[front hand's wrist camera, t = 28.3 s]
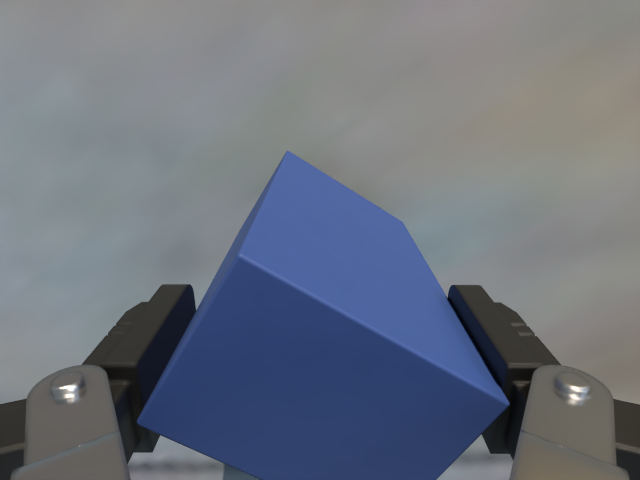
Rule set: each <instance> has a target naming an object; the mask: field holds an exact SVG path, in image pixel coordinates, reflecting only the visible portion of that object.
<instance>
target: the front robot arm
mask: <svg viewBox="0 0 640 480" xmlns="http://www.w3.org/2000/svg"><path fill="white" fill-rule="evenodd" d="M448 300H449V302H450V303H451V305H452V307H453V308H454V310H455V312H456V313H457V315H458V317H459V318H460V320H461V322H462V324H463V325H464V327H465V329H466V330H467V332H468V334H469V335H470V337H471V339H472V340H473V342H474V344H475V346H476V347H477V349H478V351H479V352H480V354H481V356H482V357H483V359H484V361H485V362H486V364H487V366H488V368H489V369H490V371H491V373H492V374H493V376H494V378H495V379H496V381H497V383H498V384H499V386H500V388H501V389H502V391H503V393H504V394H505V396H506V398H507V400H508V401H509V404H510V405H509V407H508V408H507V409H506V410H505V411H504V412H503V413H502V414H501V415H500V416H499V417H498V418H497V419H496V420H495V421H494V422H493V423H492V424H491V425H490V426H489V427H488V428H487V429H486V430H485V431H484V432H483V433H482V436H483V438H484V440H485V442H486V445H487V447H488V449H489V451H490V453H491V454H510V455H511V457H512V459H513V466H512V470H511V475H510V479H509V480H640V405H638V404H634V403H629V402H624V401H620V400H616V399H613V396H612V394H611V392H610V391H609V389H608V388H607V387H606V386H605V385H604V384H603V383H601V382H600V381H599V380H598V379H596V378H594V377H593V376H591V375H589V374H587V373H585V372H583V371H580V370H578V369H575V368H571V367H568V366H562V365H561V364H560V363H559V362H558V361H557V360H556V358H555V357H554V356H553V355H552V354H551V352H550V351H549V350H548V349H547V348H546V347H545V345H544V344H543V343H542V342H541V341H540V340H539V338H538V337H537V336H535V334H534V332H533V331H532V330H531V329H530V328H529V327H528V326H526V323H525V322H524V321H523V320H522V318H521V317H520V316H519V315H518V314H517V313H516V312H515V311H513V310H512V309H510V308H508V307H507V306H505V305H504V304H502V303H494V302H493V300H492V299H491V298H490V297H489V295H488V294H487V293H486V292H485V290H484V289H483V288H482V287H481V286H480V285H452V286H451V287H450V289H449V293H448ZM195 312H196V307H195V299H194V292H193V288H192V286H191V285H190V284H169V285H161V286H160V288H159V289H158V290H157V292H156V293H155V294H154V295H153V297H152V298H151V299H150V301H149V302H141V303H140V304H138V305H136V306H135V307H133V308H132V309H130V310H128V311H127V312H126V313H125V314H124V315H123V316H122V317H121V318H120V320H119V321H118V322H117V323H116V326H114V327H113V328H112V329H111V330H110V332H109V333H108V336H105V337H104V339H103V340H102V341H101V342H100V343H99V345H98V346H97V347H96V348H95V349H94V351H93V352H92V353H91V354H90V355H89V356H88V358H87V359H86V360H85V361H84V362H83V364H82V365H78V366H72V367H69V368H65V369H62V370H60V371H57V372H55V373H53V374H51V375H49V376H47V377H46V378H44V379H42V380H41V381H40V382H39V383H37V384H36V385H35V386H34V387H33V388H32V389H31V391H30V392H29V394H28V396H27V399H23V400H19V401H14V402H9V403H4V404H0V480H131V479H130V475H129V470H128V466H127V464H128V462H129V460H130V458H131V456H132V454H133V452H153V450H154V448H155V446H156V443H157V441H158V439H159V437H160V435H159V434H157V433H154V432H152V431H150V430H148V429H145V428H143V427H141V426H139V425H138V424H137V419H138V418H139V416H140V414H141V412H142V410H143V408H144V407H145V405H146V403H147V401H148V399H149V397H150V395H151V394H152V392H153V390H154V388H155V386H156V384H157V383H158V381H159V379H160V377H161V375H162V373H163V371H164V370H165V368H166V366H167V364H168V362H169V360H170V359H171V357H172V355H173V353H174V351H175V349H176V347H177V346H178V344H179V342H180V340H181V338H182V336H183V335H184V333H185V331H186V329H187V327H188V325H189V323H190V322H191V320H192V318H193V316H194V314H195Z"/></svg>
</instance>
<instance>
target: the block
mask: <svg viewBox="0 0 640 480" xmlns="http://www.w3.org/2000/svg"><path fill="white" fill-rule="evenodd" d="M509 405H510V404H509V401H508V400H507V398H506V396H505V394H504V393H503V391H502V389H501V388H500V386H499V384H498V383H497V381H496V379H495V378H494V376H493V374H492V373H491V371H490V369H489V368H488V366H487V364H486V362H485V361H484V359H483V357H482V356H481V354H480V352H479V351H478V349H477V347H476V346H475V344H474V342H473V340H472V339H471V337H470V335H469V334H468V332H467V330H466V329H465V327H464V325H463V324H462V322H461V320H460V318H459V317H458V315H457V313H456V312H455V310H454V308H453V307H452V305H451V303H450V302H449V300H448V298H447V296H446V295H445V293H444V291H443V290H442V288H441V286H440V285H439V283H438V281H437V280H436V278H435V276H434V274H433V273H432V271H431V269H430V268H429V266H428V264H427V263H426V261H425V259H424V258H423V256H422V254H421V252H420V251H419V249H418V247H417V246H416V244H415V242H414V241H413V239H412V237H411V236H410V234H409V232H408V231H407V229H406V227H405V225H404V224H403V222H402V221H400V220H399V219H397V218H395V217H394V216H392V215H390V214H389V213H387V212H386V211H384V210H382V209H381V208H379V207H378V206H376V205H374V204H373V203H371V202H370V201H368V200H366V199H365V198H363V197H362V196H360V195H358V194H357V193H355V192H354V191H352V190H350V189H349V188H347V187H346V186H344V185H342V184H341V183H339V182H338V181H336V180H334V179H333V178H331V177H329V176H328V175H326V174H325V173H323V172H321V171H320V170H318V169H317V168H315V167H313V166H312V165H310V164H309V163H307V162H305V161H304V160H302V159H301V158H299V157H297V156H296V155H294V154H293V153H291V152H289V151H287V152H286V153H285V155H284V157H283V159H282V160H281V162H280V164H279V165H278V167H277V169H276V170H275V172H274V174H273V175H272V177H271V179H270V181H269V182H268V184H267V186H266V187H265V189H264V191H263V192H262V194H261V196H260V197H259V199H258V201H257V203H256V204H255V206H254V208H253V209H252V211H251V213H250V214H249V216H248V218H247V219H246V221H245V223H244V224H243V226H242V228H241V230H240V231H239V233H238V235H237V237H236V239H235V240H234V242H233V244H232V246H231V248H230V250H229V251H228V253H227V255H226V257H225V259H224V261H223V263H222V264H221V266H220V268H219V270H218V272H217V274H216V275H215V277H214V279H213V281H212V283H211V285H210V287H209V288H208V290H207V292H206V294H205V296H204V298H203V299H202V301H201V303H200V305H199V307H198V309H197V311H196V312H195V314H194V316H193V318H192V320H191V322H190V323H189V325H188V327H187V329H186V331H185V333H184V335H183V336H182V338H181V340H180V342H179V344H178V346H177V347H176V349H175V351H174V353H173V355H172V357H171V359H170V360H169V362H168V364H167V366H166V368H165V370H164V371H163V373H162V375H161V377H160V379H159V381H158V383H157V384H156V386H155V388H154V390H153V392H152V394H151V395H150V397H149V399H148V401H147V403H146V405H145V407H144V408H143V410H142V412H141V414H140V416H139V418H138V419H137V424H138V425H139V426H141V427H143V428H145V429H148V430H150V431H152V432H154V433H157V434H159V435H161V436H164V437H166V438H168V439H170V440H173V441H175V442H177V443H179V444H182V445H184V446H186V447H188V448H191V449H193V450H195V451H197V452H200V453H202V454H204V455H206V456H209V457H211V458H213V459H215V460H218V461H220V462H222V463H224V464H227V465H229V466H231V467H234V468H236V469H238V470H240V471H243V472H245V473H247V474H249V475H252V476H254V477H256V478H258V479H261V480H436V479H437V478H438V477H439V476H440V475H441V474H442V473H443V472H444V471H445V470H446V469H447V468H448V467H449V466H450V465H451V464H452V463H453V462H454V461H455V460H456V459H457V458H458V457H459V456H460V455H461V454H462V453H463V452H464V451H465V450H466V449H467V448H468V447H469V446H470V445H471V444H472V443H473V442H474V441H475V440H476V439H477V438H478V437H479V436H480V435H481V434H482V433H483V432H484V431H485V430H486V429H487V428H488V427H489V426H490V425H491V424H492V423H493V422H494V421H495V420H496V419H497V418H498V417H499V416H500V415H501V414H502V413H503V412H504V411H505V410H506V409H507V408H508V407H509Z"/></svg>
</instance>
